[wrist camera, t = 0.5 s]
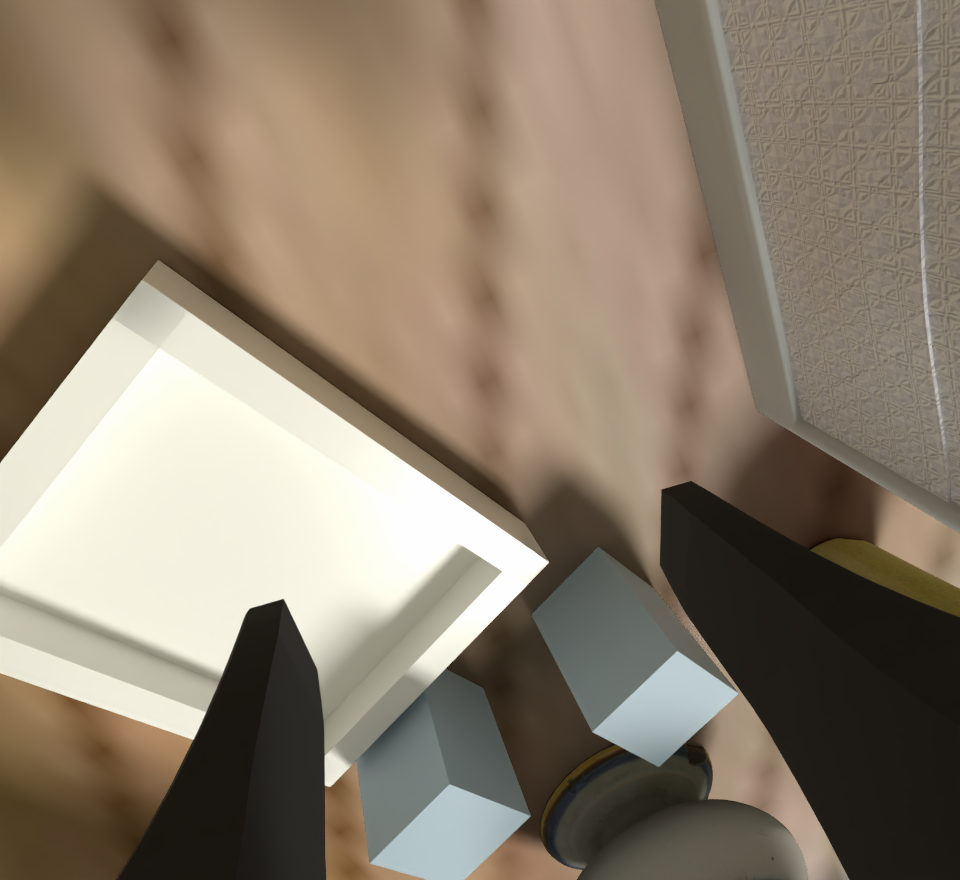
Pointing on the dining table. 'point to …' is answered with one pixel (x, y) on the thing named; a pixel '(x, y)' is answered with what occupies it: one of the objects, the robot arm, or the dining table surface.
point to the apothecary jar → (662, 824)
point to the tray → (235, 529)
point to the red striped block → (837, 219)
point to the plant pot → (891, 572)
